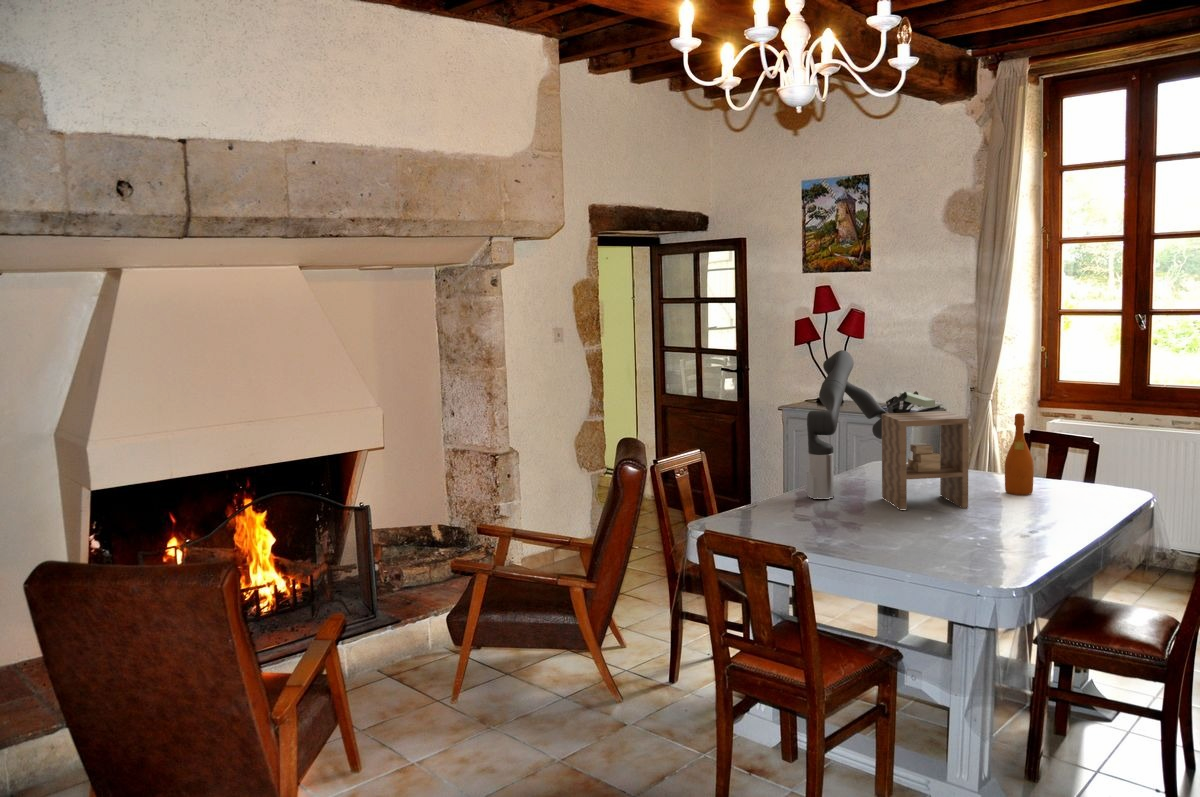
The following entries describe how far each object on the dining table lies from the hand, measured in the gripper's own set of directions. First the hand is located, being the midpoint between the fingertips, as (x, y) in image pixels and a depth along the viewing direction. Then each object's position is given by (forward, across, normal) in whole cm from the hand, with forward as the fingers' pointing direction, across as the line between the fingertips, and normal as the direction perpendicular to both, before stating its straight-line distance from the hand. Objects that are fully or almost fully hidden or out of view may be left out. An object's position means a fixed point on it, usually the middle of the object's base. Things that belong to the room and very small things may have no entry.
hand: (911, 393), depth 353 cm
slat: (+3, 0, +5) cm, 6 cm away
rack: (-8, 0, +40) cm, 41 cm away
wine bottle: (-16, +39, +35) cm, 55 cm away
